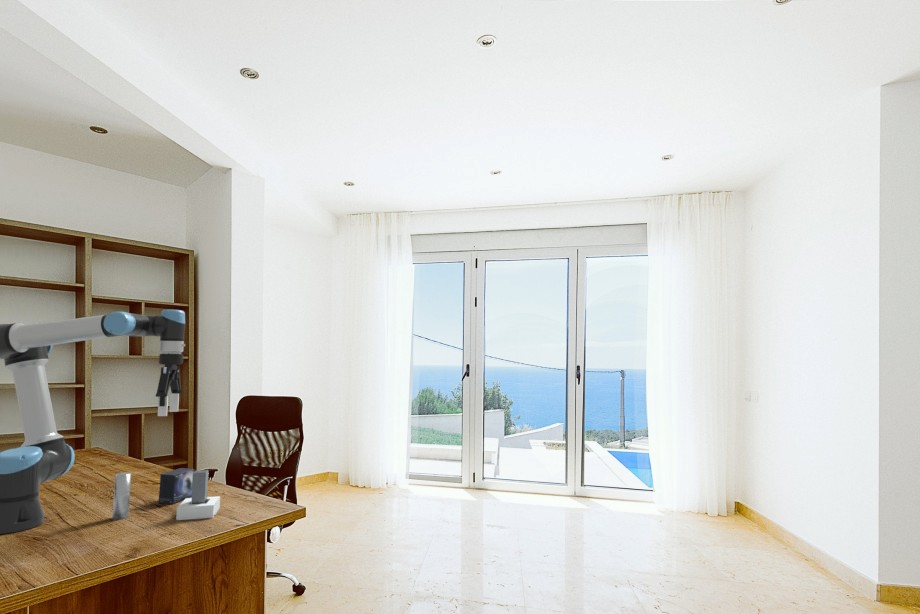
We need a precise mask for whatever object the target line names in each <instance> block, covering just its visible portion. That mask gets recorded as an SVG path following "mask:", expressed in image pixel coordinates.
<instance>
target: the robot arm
mask: <svg viewBox="0 0 920 614" xmlns="http://www.w3.org/2000/svg"><path fill="white" fill-rule="evenodd" d="M185 328H186V312H185V311H184V310H180V309H163V310H162V311H161V313H160V314H158V315H153V314H152V315H150V314H149V315H148V314H147V315H146V314H139V313H131V312H127V311H113V312H110V313H109V314H102V315H93V316H86V317H79V318H71V319H64V320H56V321H47V322H40V323H39V322H38V323H31V324H24V323H21V322H16V323H15V322H14V323H0V360H3V361H4V367H5V368H6V369H8V370H10V371H11V373H12V378H13V383H14V388H15V392H16V393H15V394H16V397H17V404H18V408H19V414H20V419H21V425H22V431H23V434H24V439H25V440H24V441H23V443H22V444H21V446H20V447H19V446H18V447H16V448H10V449H6V450H4V451H1V452H0V535H4V534H11V533H15V532H16V533H17V532H18V533H19V532H22V531H25V530H30V529H32V528H36V527H38V526H41V525H42V524H43V523H44V522H45V512H44V509H43V506H42V503H41V501H40V485H41V484H44V483H46V482H50V481H53V480H56V479H58V478H60V477H61V476H63V475H65V474H66V473H68V472H69V471H70V470H71V469H72V467H73V465H74V463H75V460H76V459H75V457H76V455H75V450H74V449H73V447H72V446H71V445H69V444H68V443H66V441H65V437H64V435H62V434H60V433H58V430H57V426H56V420H55V414H54V410H53V404H52V399H51V394H50V388H49V384H48V377H47V373H46V368H45V365H46V364H47V363H48V362H49V361H50V359H49V354H50V353H51V351H52V349H53V346H55V345H62V344H68V343H69V344H70V343H74V342H75V343H77V342H83V341H91V340H97V339H105V338H112V337H120V336H127V337H135V338H137V337H138V338H139V337H159V350H158V351H159V353H160V354H159V355H158V364H159V365H164V367H163V366H161V368H160V375H159V381H158V384H157V385H158V386H157V391H156V393H155V397H157V398H158V403H157V417H168V406H169V412H170V413H173V412H174V413H177V412H179V406H180V405H179V403H180V394H182V392H183V390H182V386H181V383H182V382H181V374H180V371H181V370H180V369H181V368H180V366H177V365H182V364H183V363H184V354H183V353H184V347H186V343H185V332H186V331H185ZM169 389H170V394H169ZM168 395H170V396H168ZM169 397H170V398H169ZM168 404H169V405H168Z"/></svg>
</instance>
